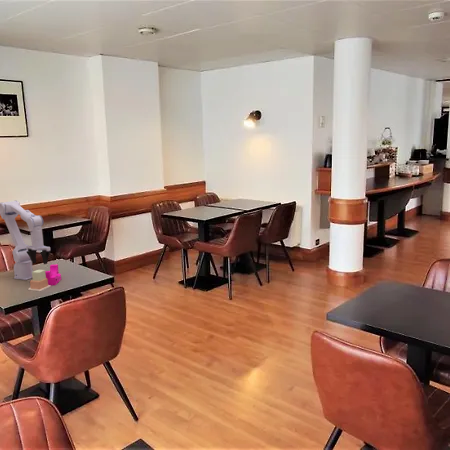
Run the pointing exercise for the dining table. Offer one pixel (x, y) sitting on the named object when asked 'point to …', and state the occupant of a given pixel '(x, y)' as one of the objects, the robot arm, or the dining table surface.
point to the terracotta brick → (39, 284)
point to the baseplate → (39, 289)
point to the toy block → (53, 275)
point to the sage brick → (38, 275)
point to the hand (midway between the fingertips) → (39, 263)
